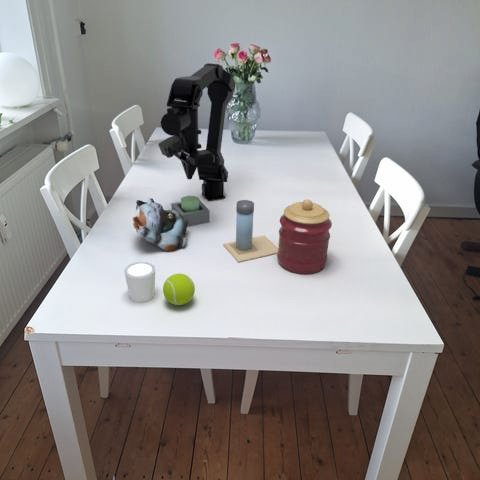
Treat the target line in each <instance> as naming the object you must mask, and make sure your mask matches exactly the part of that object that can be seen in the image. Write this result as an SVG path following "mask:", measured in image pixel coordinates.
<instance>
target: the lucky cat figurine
mask: <svg viewBox="0 0 480 480" xmlns="http://www.w3.org/2000/svg"><path fill="white" fill-rule="evenodd" d="M135 203H136V207H135V213H134V215H133V216H132V221H133V223H132V224H133V228H134V229H135V232H136V233H137V234H138V235H139V236H140V237H141V238H142V239H144V240H145V241H146V242H148V243H151V244H152V245H154V246H157V247H159V248H160V249H162V251H163V250H164V251H166V252H173V251H177V250H180V249H182V248H184V247H185V245H186V243H187V240H188V238H187V237H188V236H187V229H188V227H189V226H188V219H186V218H183V217H182V215H181V214H180V213H179V212H178V211H176V210H172V209H164V207H163V206H162V204H161V203H158V202H156V201H154V198H153V197H148V198H147V199H146V201H143V200H140V199H139V200H136V201H135Z"/></svg>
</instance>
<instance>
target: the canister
mask: <svg viewBox="0 0 480 480" xmlns="http://www.w3.org/2000/svg"><path fill="white" fill-rule="evenodd" d="M279 223H280V225H281V226H280V228H279V230H278V235H279V236H278V246H277V247H278V251H277V254H276V255H277V262H278V264H279V265H280V267H282V268H283V269H285V270H286V271H289V272H291V273H296V274H304V275H306V274H307V275H310V274H316V273H318V272H320V271H322V270H323V269H324V268H325V266H326V264H327V261H328V252H329V250H328V249H329V243H330V239H331V233H330V229H331V228H332V224H333V223H332V220H331V219H330V212H329V211H328V210H327V209H326V208H324V207H323V206H322V205H320V204H319V203H316V202H313V201H312V200H311V199H308V198H307V199H304V200H303V201H299V202H293V203H292V204H290V205H288V206H286V207H285V208H284V209H283V214H282V215H280V218H279Z"/></svg>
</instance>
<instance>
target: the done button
mask: <svg viewBox="0 0 480 480" xmlns="http://www.w3.org/2000/svg"><path fill="white" fill-rule="evenodd" d="M199 200H200V197H198V196H196V195H186V196H183V197H181V198H180V202H181V210H182V211H183V212H184V213H186V212H192V211H197V210H199Z"/></svg>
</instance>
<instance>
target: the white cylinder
mask: <svg viewBox="0 0 480 480" xmlns="http://www.w3.org/2000/svg"><path fill="white" fill-rule="evenodd" d="M155 267H156V266H155V265H154V264H152V263H150V262H146V261H139V262H133V263H130V264H129V265H127V266H126V267H125V268H124V270H123V273H124V277H125V281H126V285H127V286H126V287H127V290H128V294H129V299H130V300H131V301H132V302H136V303H145V302H148V301H150V300H152V299H153V298H154V297H155V296H156V295H155V292H156V291H155V290H156V289H155V286H156V268H155Z"/></svg>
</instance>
